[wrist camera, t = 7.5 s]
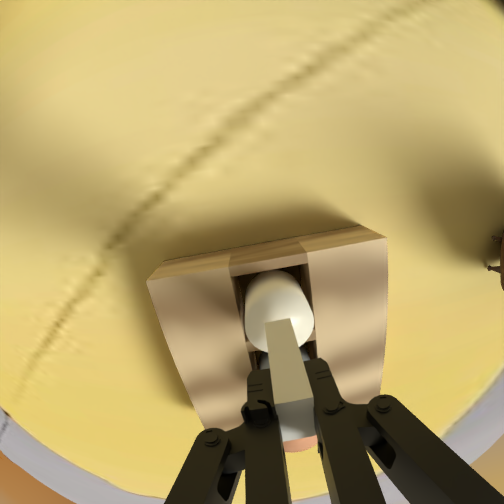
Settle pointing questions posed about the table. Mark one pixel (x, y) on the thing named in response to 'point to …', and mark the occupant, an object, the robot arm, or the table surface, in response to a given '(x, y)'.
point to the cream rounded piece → (276, 307)
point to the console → (233, 315)
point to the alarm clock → (500, 269)
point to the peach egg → (300, 444)
